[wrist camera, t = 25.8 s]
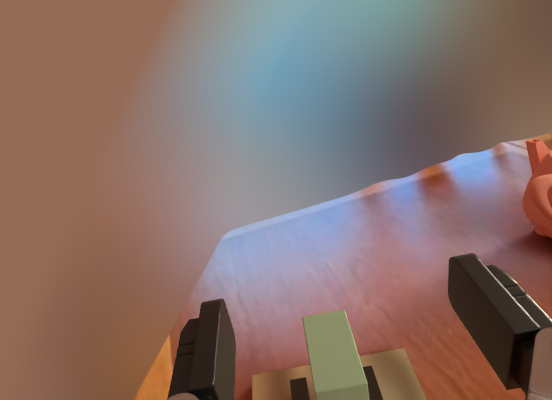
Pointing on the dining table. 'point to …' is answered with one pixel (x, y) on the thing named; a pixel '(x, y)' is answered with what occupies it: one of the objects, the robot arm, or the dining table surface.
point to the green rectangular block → (334, 358)
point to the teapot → (539, 188)
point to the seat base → (382, 366)
